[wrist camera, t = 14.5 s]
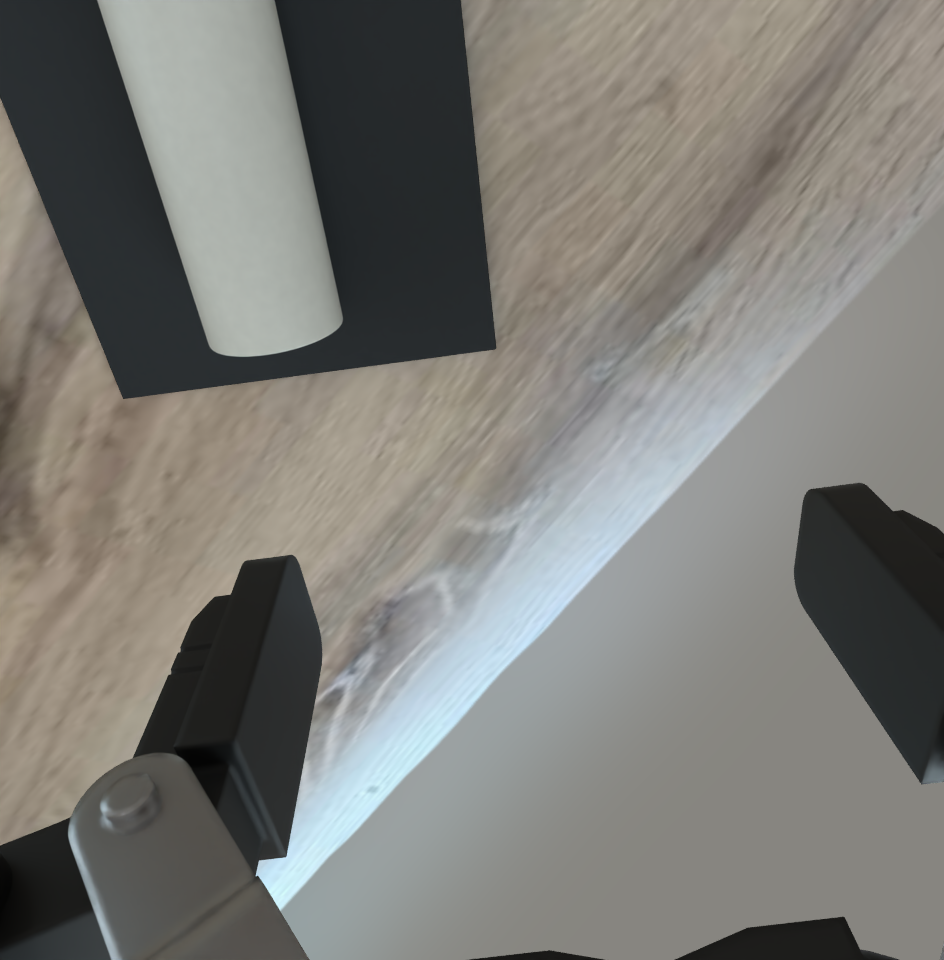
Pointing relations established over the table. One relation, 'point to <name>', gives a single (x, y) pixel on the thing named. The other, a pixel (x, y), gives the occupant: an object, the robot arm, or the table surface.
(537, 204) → the table surface
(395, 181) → the mat
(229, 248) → the towel roll
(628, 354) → the table surface
